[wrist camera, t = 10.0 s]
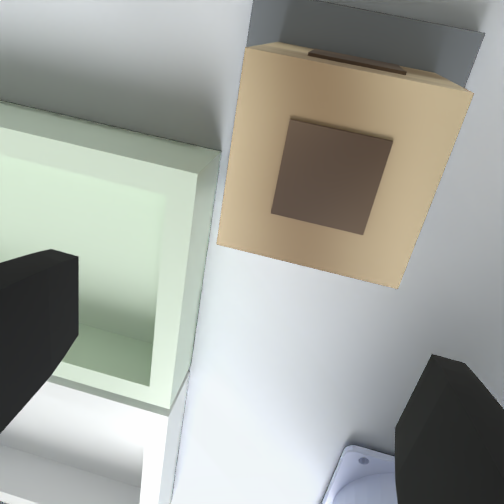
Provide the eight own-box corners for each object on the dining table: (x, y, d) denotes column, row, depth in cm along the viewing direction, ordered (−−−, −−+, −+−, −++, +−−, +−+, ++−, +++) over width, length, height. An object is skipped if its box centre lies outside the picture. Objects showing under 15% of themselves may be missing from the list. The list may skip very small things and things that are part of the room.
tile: (478, 33, 14) (485, 33, 13) (403, 233, 17) (405, 241, 16) (260, -10, 14) (254, -12, 14) (228, 190, 18) (223, 197, 17)
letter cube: (435, 69, 14) (476, 89, 9) (385, 218, 16) (398, 290, 12) (278, 39, 14) (244, 43, 10) (252, 187, 17) (215, 245, 12)
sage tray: (221, 151, 17) (197, 173, 14) (191, 364, 22) (169, 409, 20) (-81, 81, 18) (-154, 90, 16) (-43, 298, 23) (-93, 332, 21)
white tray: (189, 371, 22) (168, 417, 20) (171, 501, 28) (152, 550, 25) (-42, 306, 24) (-91, 340, 21) (-18, 441, 29) (-55, 483, 26)
